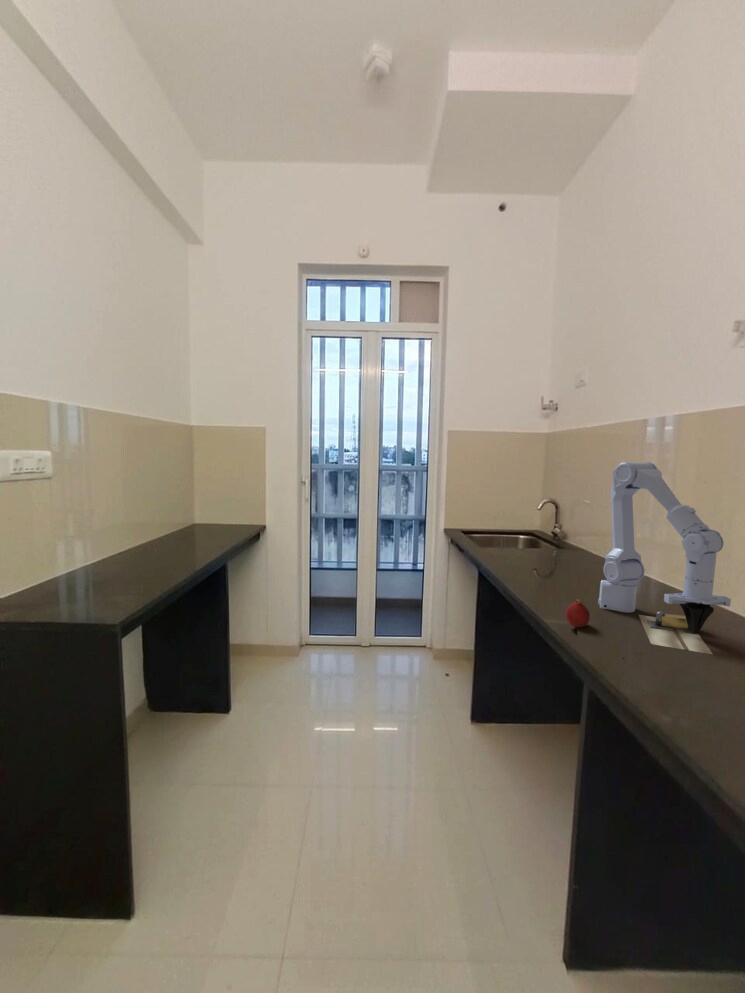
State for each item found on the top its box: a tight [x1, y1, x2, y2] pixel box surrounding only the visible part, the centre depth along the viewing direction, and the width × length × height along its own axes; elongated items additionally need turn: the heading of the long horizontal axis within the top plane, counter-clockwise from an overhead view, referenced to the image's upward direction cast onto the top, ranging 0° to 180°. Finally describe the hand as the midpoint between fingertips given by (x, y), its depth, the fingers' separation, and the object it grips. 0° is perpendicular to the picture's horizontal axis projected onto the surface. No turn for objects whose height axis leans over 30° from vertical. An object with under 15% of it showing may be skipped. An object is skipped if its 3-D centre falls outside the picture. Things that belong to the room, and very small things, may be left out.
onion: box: [565, 599, 591, 629], centre depth 114 cm, size 6×6×8 cm
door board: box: [638, 614, 714, 656], centre depth 111 cm, size 12×21×2 cm, turn 156°
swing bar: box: [655, 610, 703, 632], centre depth 113 cm, size 10×2×3 cm, turn 74°
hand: (693, 632), depth 108 cm, fingers closed
